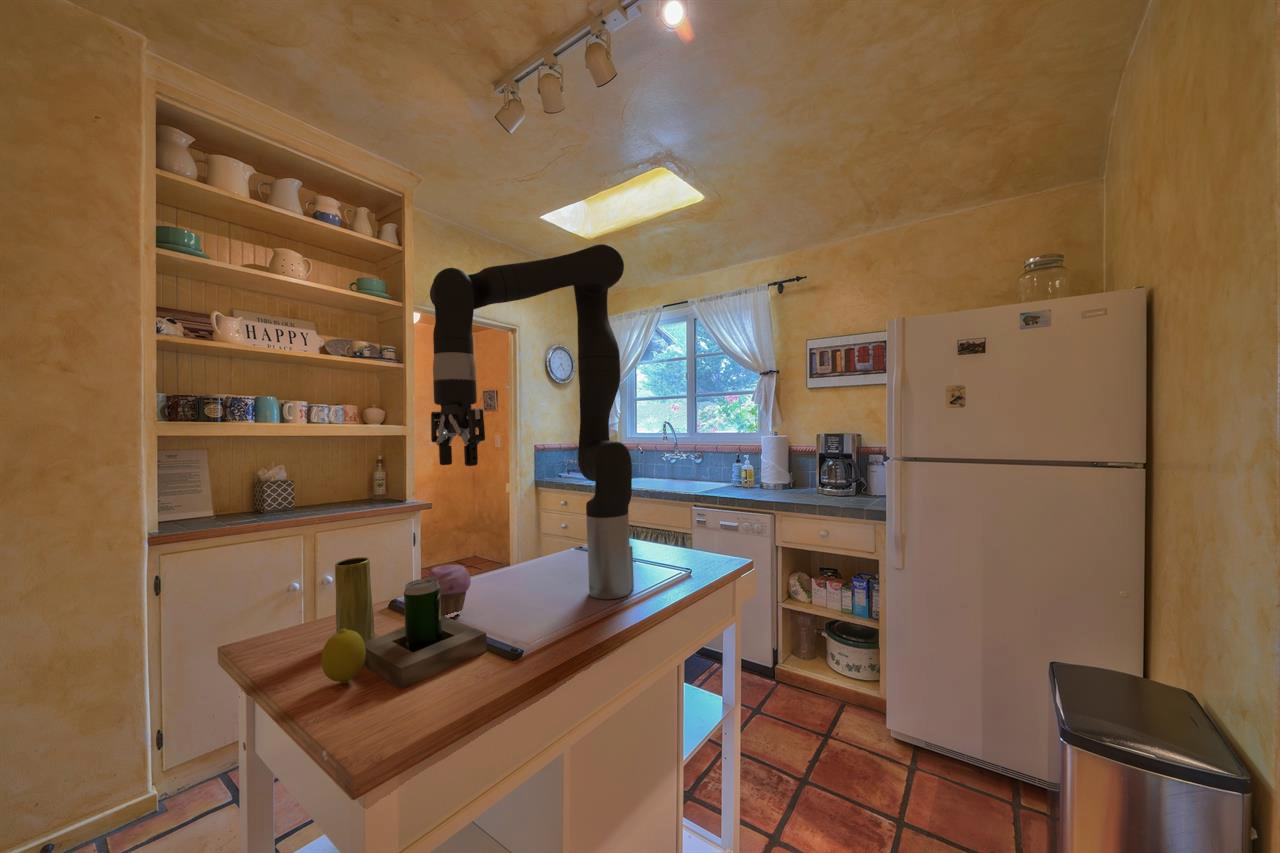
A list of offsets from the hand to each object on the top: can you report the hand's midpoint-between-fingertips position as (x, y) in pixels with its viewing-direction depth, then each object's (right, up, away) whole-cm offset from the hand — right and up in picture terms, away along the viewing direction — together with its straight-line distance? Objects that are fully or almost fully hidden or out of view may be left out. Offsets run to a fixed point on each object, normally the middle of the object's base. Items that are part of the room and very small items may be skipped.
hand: (458, 465), depth 91 cm
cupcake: (-4, -31, +5) cm, 31 cm away
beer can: (-1, -30, -12) cm, 33 cm away
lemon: (-9, -31, -20) cm, 38 cm away
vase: (-16, -31, -6) cm, 35 cm away
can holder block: (-1, -30, -12) cm, 33 cm away
